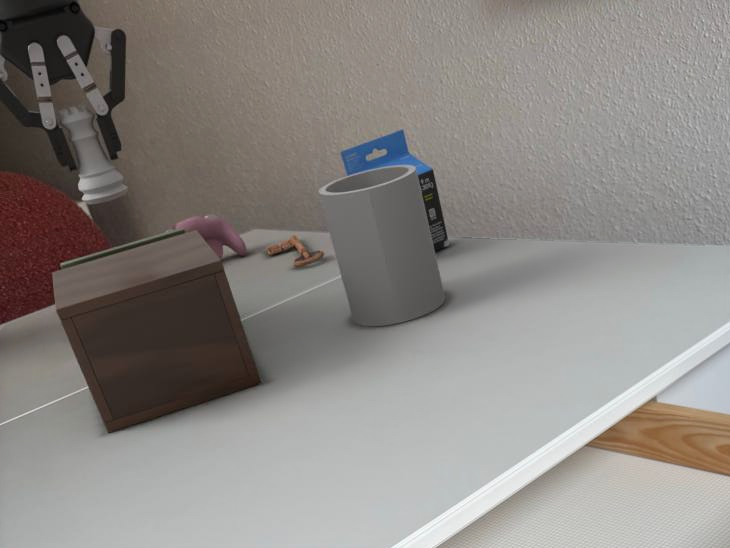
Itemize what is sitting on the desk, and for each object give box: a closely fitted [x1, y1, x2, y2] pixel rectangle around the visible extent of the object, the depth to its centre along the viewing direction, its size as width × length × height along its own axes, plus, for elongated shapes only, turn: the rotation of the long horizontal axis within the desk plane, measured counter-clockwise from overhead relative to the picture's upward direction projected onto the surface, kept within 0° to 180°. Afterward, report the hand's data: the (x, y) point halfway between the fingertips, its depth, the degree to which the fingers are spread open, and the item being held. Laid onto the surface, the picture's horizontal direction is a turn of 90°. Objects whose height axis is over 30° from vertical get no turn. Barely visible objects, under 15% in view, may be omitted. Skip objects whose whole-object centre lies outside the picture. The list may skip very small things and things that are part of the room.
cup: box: [318, 165, 446, 327], centre depth 103 cm, size 9×9×12 cm
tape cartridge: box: [340, 129, 450, 252], centre depth 118 cm, size 9×4×12 cm, turn 132°
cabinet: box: [51, 230, 263, 434], centre depth 98 cm, size 16×14×11 cm
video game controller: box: [164, 213, 248, 260], centre depth 138 cm, size 10×5×7 cm, turn 130°
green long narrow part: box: [60, 228, 186, 270], centre depth 108 cm, size 20×13×9 cm, turn 20°
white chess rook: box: [59, 103, 129, 205], centre depth 102 cm, size 4×4×8 cm
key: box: [265, 234, 325, 268], centre depth 133 cm, size 6×1×15 cm
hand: (93, 163), depth 103 cm, fingers closed on white chess rook, 3 cm apart
